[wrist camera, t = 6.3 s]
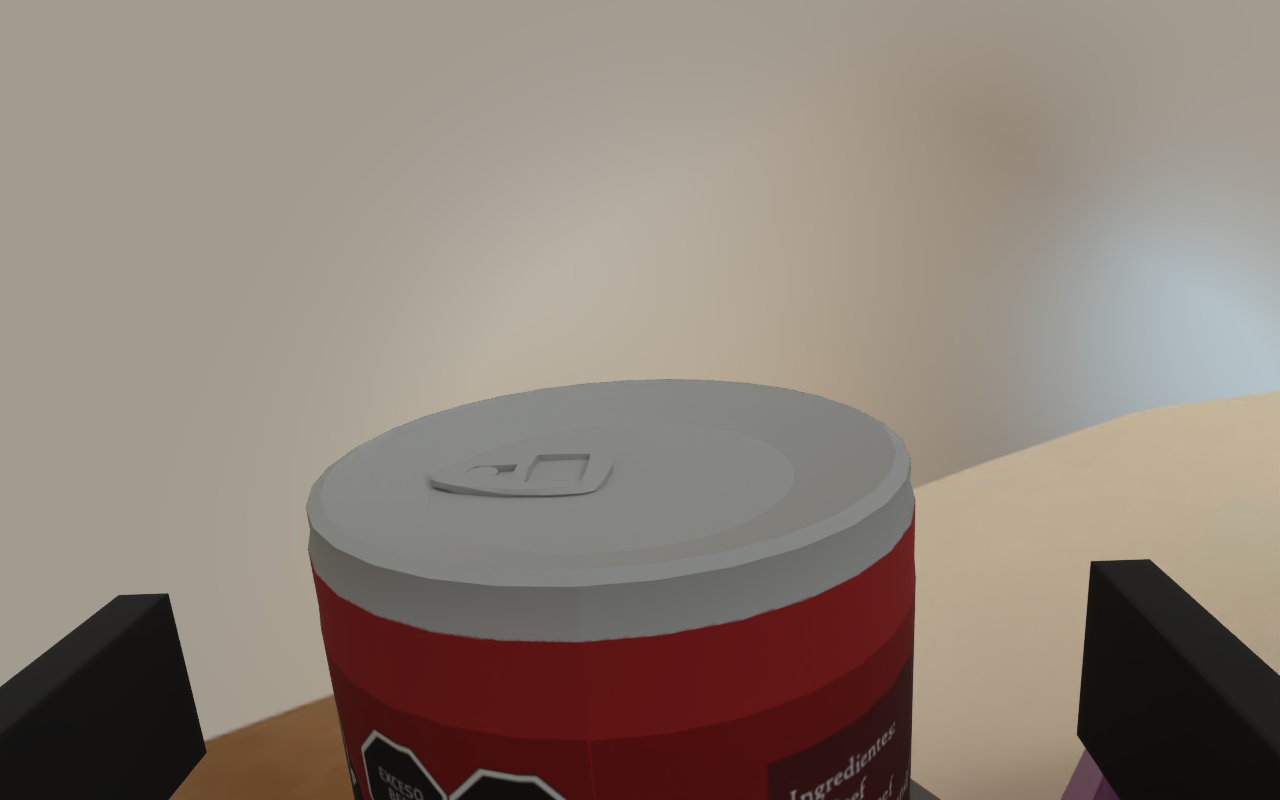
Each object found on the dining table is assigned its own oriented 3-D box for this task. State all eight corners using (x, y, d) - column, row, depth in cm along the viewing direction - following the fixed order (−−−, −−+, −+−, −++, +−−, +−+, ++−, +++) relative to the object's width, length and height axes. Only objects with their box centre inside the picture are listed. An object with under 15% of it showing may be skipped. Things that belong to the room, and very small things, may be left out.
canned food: (423, 927, 18) (334, 410, 15) (792, 840, 19) (780, 356, 16) (412, 1457, 10) (231, 647, 7) (1006, 1247, 12) (1058, 507, 9)
